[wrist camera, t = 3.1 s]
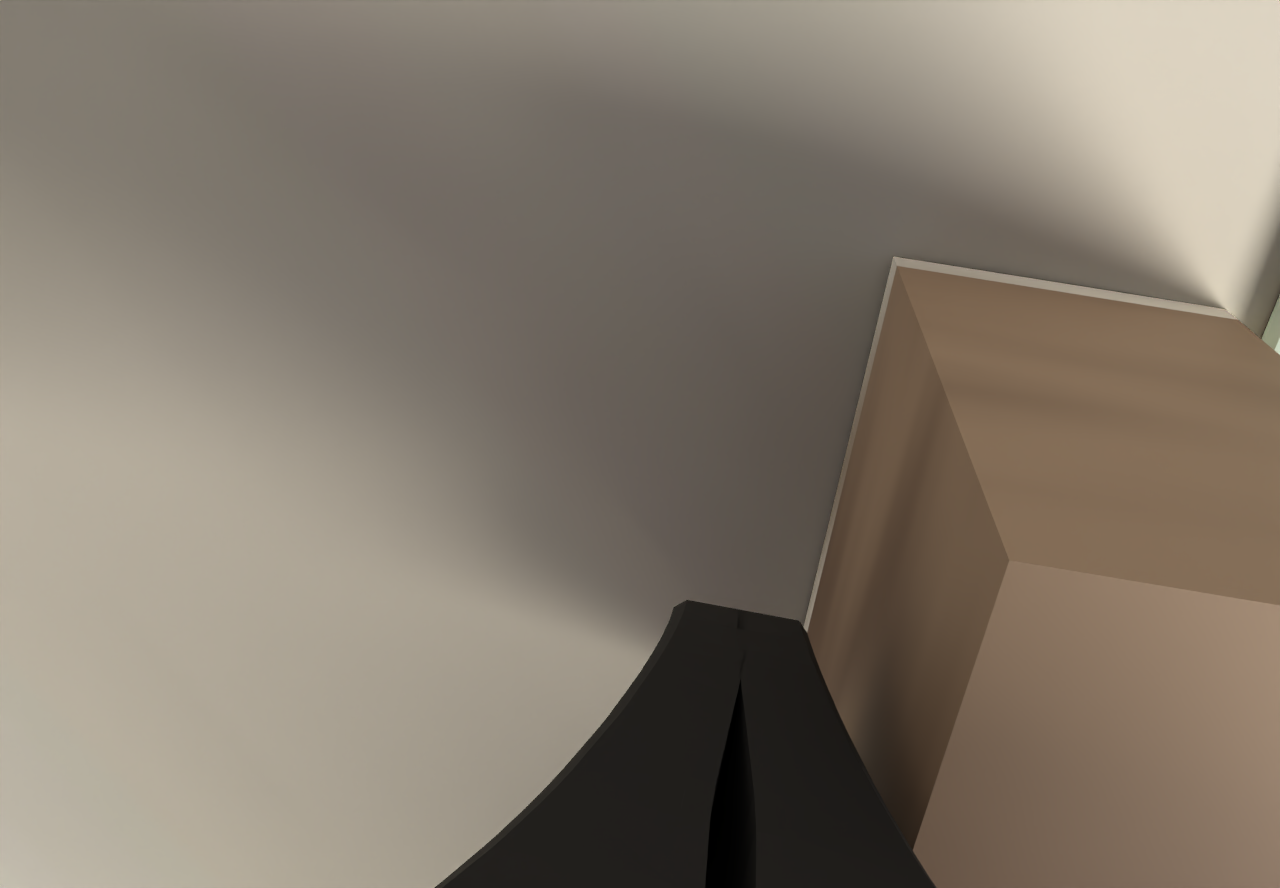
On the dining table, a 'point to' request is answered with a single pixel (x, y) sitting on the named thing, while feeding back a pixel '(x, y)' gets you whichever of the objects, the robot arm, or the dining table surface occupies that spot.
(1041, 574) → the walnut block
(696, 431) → the dining table surface
